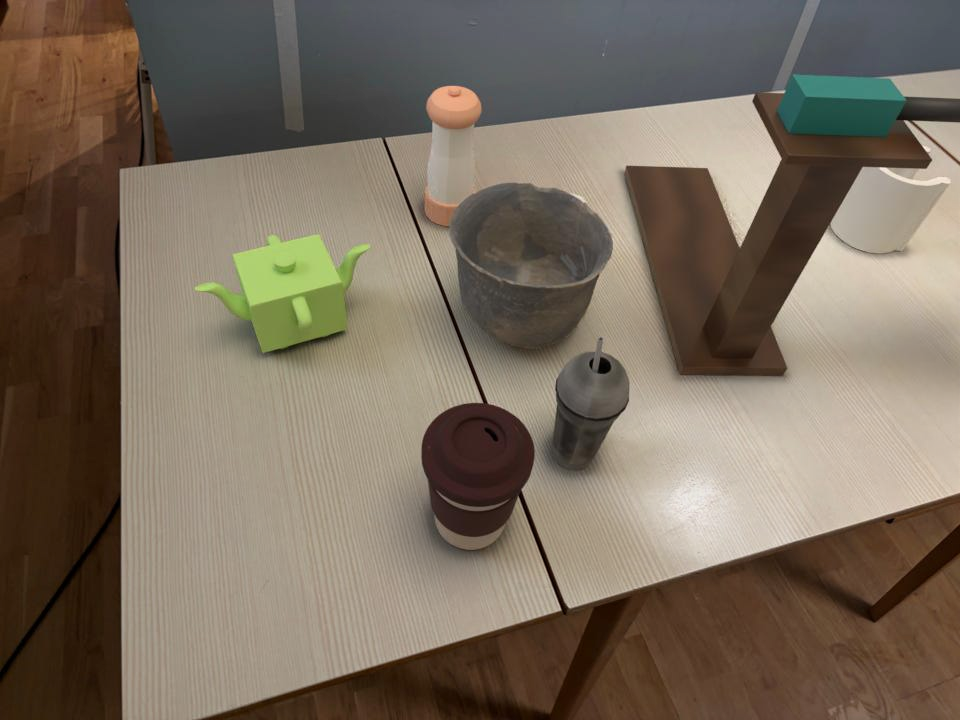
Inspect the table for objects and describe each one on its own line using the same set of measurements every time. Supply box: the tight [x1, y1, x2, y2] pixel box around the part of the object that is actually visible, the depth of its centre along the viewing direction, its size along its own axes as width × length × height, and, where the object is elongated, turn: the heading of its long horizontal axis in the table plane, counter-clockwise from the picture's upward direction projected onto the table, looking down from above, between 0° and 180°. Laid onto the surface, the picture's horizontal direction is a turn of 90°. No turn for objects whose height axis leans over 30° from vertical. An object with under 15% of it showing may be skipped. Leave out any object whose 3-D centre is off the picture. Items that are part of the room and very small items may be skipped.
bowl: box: [448, 182, 614, 349], centre depth 84 cm, size 18×18×15 cm
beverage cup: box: [551, 336, 630, 471], centre depth 70 cm, size 7×7×20 cm
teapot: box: [194, 233, 372, 354], centre depth 83 cm, size 15×13×11 cm
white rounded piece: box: [829, 144, 952, 254], centre depth 106 cm, size 25×10×12 cm, turn 179°
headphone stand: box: [623, 91, 933, 377], centre depth 86 cm, size 13×41×32 cm, turn 2°
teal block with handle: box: [777, 73, 960, 137], centre depth 63 cm, size 22×4×4 cm, turn 92°
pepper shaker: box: [424, 85, 483, 227], centre depth 95 cm, size 7×7×19 cm
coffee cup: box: [420, 402, 536, 551], centre depth 66 cm, size 10×10×15 cm
